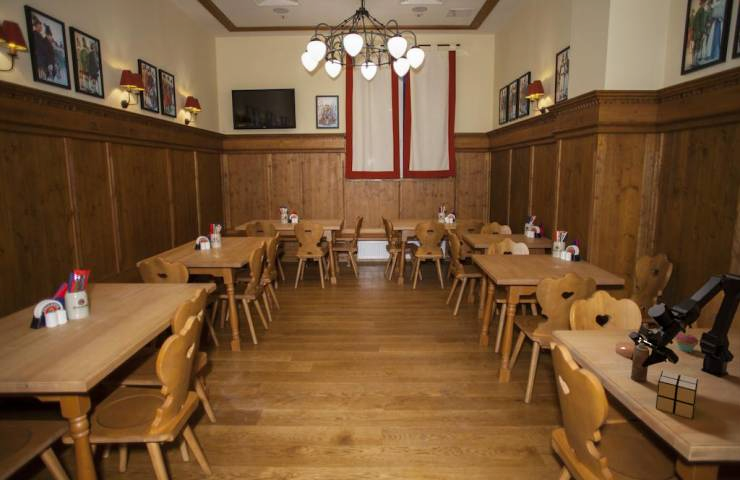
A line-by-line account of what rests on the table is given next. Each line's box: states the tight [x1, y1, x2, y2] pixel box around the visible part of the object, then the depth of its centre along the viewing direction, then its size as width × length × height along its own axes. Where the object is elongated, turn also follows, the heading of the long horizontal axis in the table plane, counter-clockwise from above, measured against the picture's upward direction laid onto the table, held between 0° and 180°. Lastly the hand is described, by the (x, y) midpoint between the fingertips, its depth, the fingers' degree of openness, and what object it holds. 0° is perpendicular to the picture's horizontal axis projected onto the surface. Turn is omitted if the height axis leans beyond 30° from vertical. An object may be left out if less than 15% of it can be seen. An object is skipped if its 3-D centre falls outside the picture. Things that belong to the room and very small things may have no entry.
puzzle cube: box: [655, 370, 699, 420], centre depth 144 cm, size 10×10×10 cm
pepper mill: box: [630, 343, 651, 384], centre depth 163 cm, size 5×5×14 cm
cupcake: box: [674, 325, 699, 353], centre depth 189 cm, size 9×8×12 cm
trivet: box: [614, 341, 635, 360], centre depth 187 cm, size 12×12×3 cm
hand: (636, 363), depth 163 cm, fingers closed on pepper mill, 5 cm apart
